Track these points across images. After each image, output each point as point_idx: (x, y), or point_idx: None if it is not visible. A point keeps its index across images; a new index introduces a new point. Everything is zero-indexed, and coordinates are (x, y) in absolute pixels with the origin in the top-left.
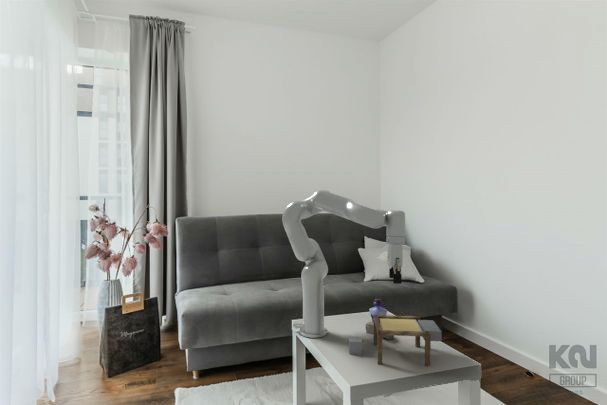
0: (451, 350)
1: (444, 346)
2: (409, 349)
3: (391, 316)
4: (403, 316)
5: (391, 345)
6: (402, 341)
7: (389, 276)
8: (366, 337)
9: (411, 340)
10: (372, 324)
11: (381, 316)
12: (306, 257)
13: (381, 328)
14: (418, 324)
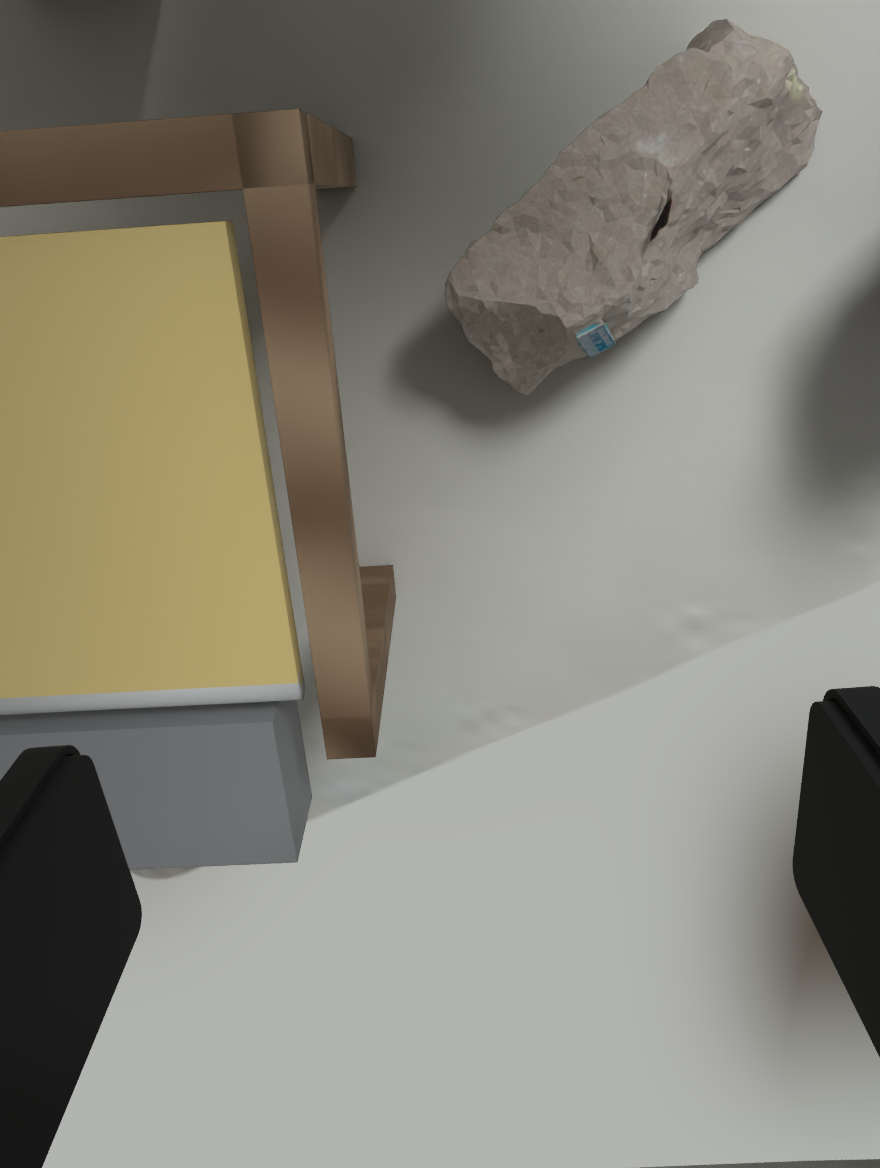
0: (343, 802)
1: (412, 773)
2: (288, 504)
3: (292, 415)
4: (328, 578)
5: (346, 343)
6: (467, 461)
7: (847, 708)
8: (531, 47)
9: (504, 546)
10: (615, 122)
11: (253, 256)
12: None
13: (506, 250)
14: (125, 707)
